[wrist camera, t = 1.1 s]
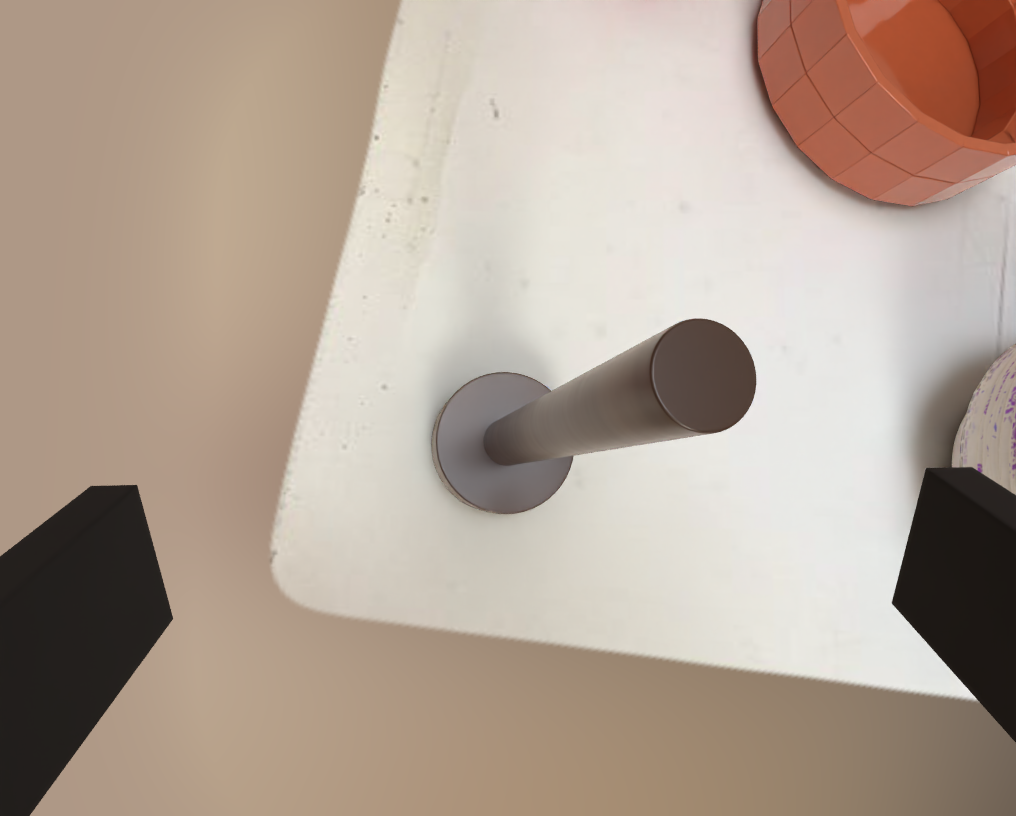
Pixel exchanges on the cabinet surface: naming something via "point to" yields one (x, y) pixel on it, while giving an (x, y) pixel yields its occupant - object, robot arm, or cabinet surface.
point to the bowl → (895, 91)
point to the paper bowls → (991, 425)
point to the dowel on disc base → (588, 414)
